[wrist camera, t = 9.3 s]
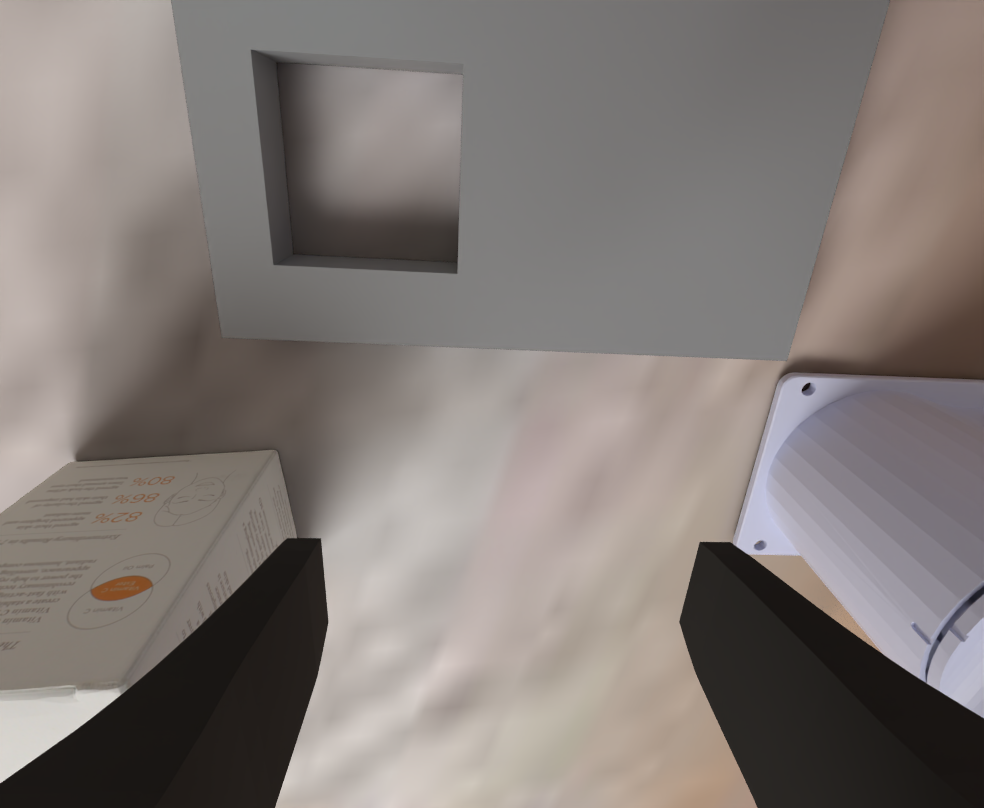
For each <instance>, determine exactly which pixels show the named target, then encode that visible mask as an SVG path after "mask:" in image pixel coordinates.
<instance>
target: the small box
mask: <svg viewBox="0 0 984 808" xmlns="http://www.w3.org/2000/svg"><path fill="white" fill-rule="evenodd" d="M287 538H297V534H296V529H295V525H294V520H293V516H292V512H291V507H290V503H289V498H288V494H287V490H286V485H285V481H284V477H283V473H282V468H281V464H280V460H279V455H278V452H277V451H276V450H263V451H249V452H231V453H214V454H199V455H182V456H164V457H147V458H133V459H116V460H99V461H82V462H70V463H68V464H66V465H65V466H64V467H62V468H61V469H60V470H58V471H57V472H56V473H54V474H53V475H52V476H50V477H49V478H48V479H46V480H45V481H44V482H42V483H41V484H40V485H38V486H37V487H35V488H34V489H33V490H31V491H30V492H29V493H27V494H26V495H25V496H23V497H22V498H20V499H19V500H18V501H17V502H16V503H14V504H13V505H11V506H10V507H9V508H7V509H6V510H5V511H3V512H2V513H1V514H0V783H1V782H3V781H4V780H6V779H7V778H8V777H10V776H11V775H13V774H14V773H15V772H17V771H18V770H20V769H21V768H23V767H24V766H25V765H27V764H28V763H30V762H31V761H33V760H34V759H35V758H37V757H38V756H40V755H41V754H42V753H44V752H45V751H47V750H48V749H50V748H51V747H52V746H54V745H55V744H57V743H58V742H59V741H61V740H62V739H64V738H65V737H67V736H68V735H69V734H71V733H72V732H74V731H75V730H76V729H78V728H79V727H80V726H82V725H83V724H84V723H86V722H87V721H88V720H90V719H91V718H92V717H93V716H95V715H96V714H97V713H99V712H100V711H101V710H102V709H104V708H105V707H106V706H107V705H109V704H110V703H111V702H113V701H114V700H115V699H116V698H118V697H119V696H120V695H121V694H123V693H124V692H125V691H126V690H127V689H129V688H130V687H131V686H132V685H134V684H135V683H136V682H137V681H138V680H139V679H141V678H142V677H143V676H144V675H145V674H147V673H148V672H149V671H150V670H151V669H152V668H154V667H155V666H156V665H157V664H158V663H159V662H160V661H161V660H163V659H164V658H165V657H166V656H167V655H168V654H169V653H170V652H171V651H173V650H174V649H175V648H176V647H177V646H178V645H179V644H180V643H181V642H183V641H184V640H185V639H186V638H187V637H188V636H189V635H190V634H191V633H193V632H194V631H195V630H196V629H197V628H198V627H199V626H200V625H201V624H202V623H203V622H204V621H205V620H206V619H207V618H208V617H209V616H210V615H211V614H212V613H213V612H214V611H215V610H216V609H218V608H219V607H220V606H221V605H222V604H223V603H224V602H225V601H226V600H227V599H228V598H229V597H230V596H231V595H232V594H233V593H234V592H235V591H236V590H237V589H238V588H239V587H240V586H241V585H242V584H243V583H244V582H245V581H246V580H247V578H248V577H249V576H250V575H251V574H252V573H253V572H254V571H255V570H256V569H257V568H258V567H259V566H260V565H261V564H262V563H263V562H264V561H265V560H266V559H267V558H268V557H269V556H270V554H271V553H272V552H273V551H274V550H275V549H276V548H277V547H278V546H279V545H280V544H281V543H282V542H283V541H285V540H286V539H287Z"/></svg>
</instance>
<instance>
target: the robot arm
mask: <svg viewBox="0 0 984 808" xmlns="http://www.w3.org/2000/svg"><path fill="white" fill-rule="evenodd" d="M807 383H810V386H809V388H808V389H807V390H806V391H803V392H802V388H803V386H804V385H805V384H807ZM761 540H762V541H761ZM758 541H761V542H760V543H758V544H755V543H756V542H758ZM748 554H759V555H801V556H802V557H803V558H804V560H805V561H806V562H807V563H808V564H809V566H810V567H811V568H812V569H813V570H814V572H815V573H816V574H817V575H818V576H819V578H820V579H821V580H822V581H823V582H824V584H825V585H826V586H827V587H828V588H829V590H830V591H831V592H832V593H833V594H834V596H835V597H836V598H837V599H838V601H839V602H840V603H841V604H842V605H843V607H844V608H845V609H846V610H847V611H848V613H849V614H850V615H851V616H852V617H853V619H854V620H855V621H856V622H857V623H858V625H859V626H860V627H861V628H862V629H863V631H864V632H865V633H866V634H867V635H868V637H869V638H870V639H871V640H872V641H873V643H874V644H875V645H876V646H877V647H878V649H879V650H880V651H881V652H882V653H883V654H882V653H880V652H879V651H878V650H876V649H875V648H873V647H872V646H870V645H869V644H867V643H866V642H864V641H863V640H862V639H860V638H859V637H857V636H856V635H855V634H853V633H852V632H850V631H849V630H848V629H846V628H845V627H843V626H842V625H841V624H839V623H838V622H837V621H835V620H834V619H832V618H831V617H830V616H828V615H827V614H826V613H824V612H823V611H822V610H820V609H819V608H818V607H816V606H815V605H814V604H812V603H811V602H810V601H808V600H807V599H806V598H804V597H803V596H802V595H800V594H799V593H798V592H797V591H795V590H794V589H793V588H791V587H790V586H789V585H787V584H786V583H785V582H783V581H782V580H781V579H780V578H778V577H777V576H776V575H774V574H773V573H772V572H770V571H769V570H768V569H767V568H765V567H764V566H763V565H761V564H760V563H759V562H757V561H756V560H755V559H753V558H752V557H751V556H749V555H748ZM679 622H680V625H681V629H682V632H683V635H684V639H685V642H686V645H687V648H688V652H689V654H690V657H691V660H692V663H693V666H694V669H695V672H696V675H697V677H698V679H699V682H700V684H701V686H702V688H703V690H704V693H705V695H706V697H707V699H708V701H709V704H710V706H711V708H712V710H713V712H714V715H715V717H716V719H717V721H718V723H719V725H720V727H721V730H722V732H723V734H724V736H725V738H726V740H727V742H728V744H729V747H730V749H731V751H732V753H733V755H734V757H735V759H736V762H737V764H738V766H739V768H740V770H741V772H742V774H743V777H744V779H745V781H746V783H747V785H748V787H749V789H750V792H751V794H752V796H753V798H754V800H755V803H756V805H757V807H758V808H984V380H973V379H948V378H922V377H897V376H872V375H847V374H821V373H796V372H794V373H788V374H786V375H784V376H783V377H782V378H781V379H780V380H779V382H778V384H777V387H776V391H775V394H774V398H773V402H772V405H771V409H770V412H769V416H768V419H767V423H766V426H765V430H764V433H763V437H762V440H761V444H760V447H759V451H758V454H757V458H756V461H755V465H754V468H753V472H752V475H751V479H750V482H749V486H748V489H747V493H746V497H745V500H744V504H743V507H742V511H741V514H740V518H739V521H738V525H737V528H736V532H735V535H734V539H733V544H732V543H731V542H700V544H699V547H698V551H697V555H696V559H695V563H694V567H693V571H692V575H691V579H690V582H689V586H688V590H687V594H686V598H685V602H684V606H683V610H682V613H681V617H680V621H679ZM327 626H328V613H327V602H326V591H325V580H324V568H323V557H322V546H321V538H287V539H286V540H285V541H283V542H282V543H281V544H280V545H279V546H278V547H277V548H276V549H275V550H274V551H273V552H272V553H271V554H270V556H269V557H268V558H267V559H266V560H265V561H264V562H263V563H262V564H261V565H260V566H259V567H258V568H257V569H256V570H255V571H254V572H253V573H252V574H251V575H250V576H249V577H248V578H247V580H246V581H245V582H244V583H243V584H242V585H241V586H240V587H239V588H238V589H237V590H236V591H235V592H234V593H233V594H232V595H231V596H230V597H229V598H228V599H227V600H226V601H225V602H224V603H223V604H222V605H221V606H220V607H219V608H218V609H216V610H215V611H214V612H213V613H212V614H211V615H210V616H209V617H208V618H207V619H206V620H205V621H204V622H203V623H202V624H201V625H200V626H199V627H198V628H197V629H196V630H195V631H194V632H193V633H191V634H190V635H189V636H188V637H187V638H186V639H185V640H184V641H183V642H181V643H180V644H179V645H178V646H177V647H176V648H175V649H174V650H173V651H171V652H170V653H169V654H168V655H167V656H166V657H165V658H164V659H163V660H161V661H160V662H159V663H158V664H157V665H156V666H155V667H154V668H152V669H151V670H150V671H149V672H148V673H147V674H145V675H144V676H143V677H142V678H141V679H139V680H138V681H137V682H136V683H135V684H134V685H132V686H131V687H130V688H129V689H127V690H126V691H125V692H124V693H123V694H121V695H120V696H119V697H118V698H116V699H115V700H114V701H113V702H111V703H110V704H109V705H107V706H106V707H105V708H104V709H102V710H101V711H100V712H99V713H97V714H96V715H95V716H93V717H92V718H91V719H90V720H88V721H87V722H86V723H84V724H83V725H82V726H80V727H79V728H78V729H76V730H75V731H74V732H72V733H71V734H69V735H68V736H67V737H65V738H64V739H62V740H61V741H59V742H58V743H57V744H55V745H54V746H52V747H51V748H50V749H48V750H47V751H45V752H44V753H42V754H41V755H40V756H38V757H37V758H35V759H34V760H33V761H31V762H30V763H28V764H27V765H25V766H24V767H23V768H21V769H20V770H18V771H17V772H15V773H14V774H13V775H11V776H10V777H8V778H7V779H6V780H4V781H3V782H1V783H0V808H275V806H276V803H277V799H278V796H279V793H280V790H281V787H282V784H283V781H284V778H285V775H286V772H287V769H288V766H289V763H290V760H291V757H292V754H293V750H294V747H295V744H296V741H297V738H298V735H299V732H300V729H301V726H302V723H303V720H304V717H305V714H306V710H307V707H308V704H309V701H310V698H311V695H312V692H313V689H314V685H315V682H316V679H317V675H318V671H319V666H320V661H321V657H322V652H323V647H324V642H325V637H326V632H327Z"/></svg>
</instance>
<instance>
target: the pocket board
mask: <svg viewBox="0 0 984 808" xmlns="http://www.w3.org/2000/svg"><path fill="white" fill-rule="evenodd" d="M889 3H890V0H171V4H172V10H173V17H174V23H175V30H176V37H177V43H178V50H179V57H180V63H181V70H182V77H183V83H184V90H185V97H186V103H187V110H188V116H189V123H190V130H191V136H192V143H193V150H194V156H195V163H196V170H197V176H198V183H199V190H200V196H201V203H202V209H203V216H204V223H205V229H206V236H207V243H208V249H209V256H210V263H211V269H212V276H213V283H214V289H215V296H216V302H217V309H218V316H219V322H220V329H221V336H222V338H236V339H261V340H285V341H310V342H334V343H359V344H384V345H408V346H433V347H457V348H482V349H506V350H531V351H555V352H580V353H604V354H629V355H654V356H678V357H703V358H727V359H752V360H776V361H787V359H788V355H789V352H790V348H791V345H792V341H793V338H794V334H795V331H796V327H797V324H798V320H799V317H800V313H801V310H802V307H803V303H804V300H805V296H806V293H807V289H808V286H809V282H810V279H811V275H812V272H813V268H814V265H815V261H816V258H817V254H818V251H819V247H820V244H821V240H822V237H823V233H824V230H825V226H826V223H827V219H828V216H829V212H830V209H831V205H832V202H833V198H834V195H835V191H836V188H837V184H838V181H839V177H840V174H841V170H842V167H843V163H844V160H845V156H846V153H847V149H848V146H849V142H850V139H851V135H852V132H853V128H854V125H855V121H856V118H857V114H858V111H859V108H860V104H861V101H862V97H863V94H864V90H865V87H866V83H867V80H868V76H869V73H870V69H871V66H872V62H873V59H874V55H875V52H876V48H877V45H878V41H879V38H880V34H881V31H882V27H883V24H884V20H885V17H886V13H887V10H888V6H889ZM276 62H283V63H298V64H313V65H328V66H343V67H357V68H372V69H387V70H402V71H417V72H432V73H447V74H462V75H463V92H462V128H461V163H460V199H459V234H458V262H438V261H418V260H397V259H377V258H357V257H336V256H316V255H295V254H293V244H292V233H291V222H290V211H289V200H288V189H287V178H286V167H285V156H284V144H283V133H282V122H281V111H280V100H279V89H278V78H277V67H276Z"/></svg>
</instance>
